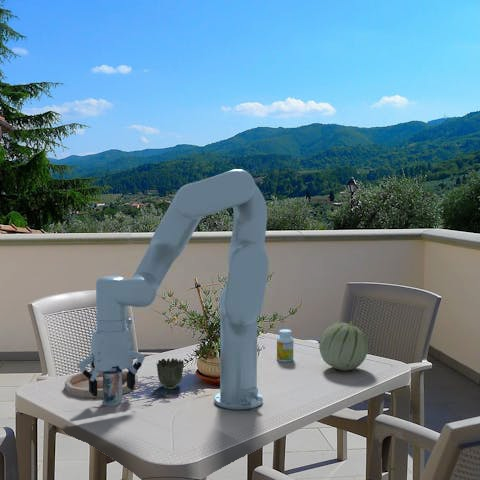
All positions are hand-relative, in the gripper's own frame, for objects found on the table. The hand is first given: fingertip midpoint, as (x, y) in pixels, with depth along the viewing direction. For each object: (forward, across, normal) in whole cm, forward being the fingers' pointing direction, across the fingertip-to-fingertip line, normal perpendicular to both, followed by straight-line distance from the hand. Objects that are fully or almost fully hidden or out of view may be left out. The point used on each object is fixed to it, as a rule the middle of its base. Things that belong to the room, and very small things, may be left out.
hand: (112, 391), depth 155 cm
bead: (+3, -7, -13) cm, 15 cm away
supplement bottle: (+4, -63, -12) cm, 64 cm away
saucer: (+4, -2, -14) cm, 15 cm away
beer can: (+4, 0, 0) cm, 4 cm away
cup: (+4, -18, -4) cm, 19 cm away
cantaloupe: (+4, -72, +6) cm, 72 cm away
